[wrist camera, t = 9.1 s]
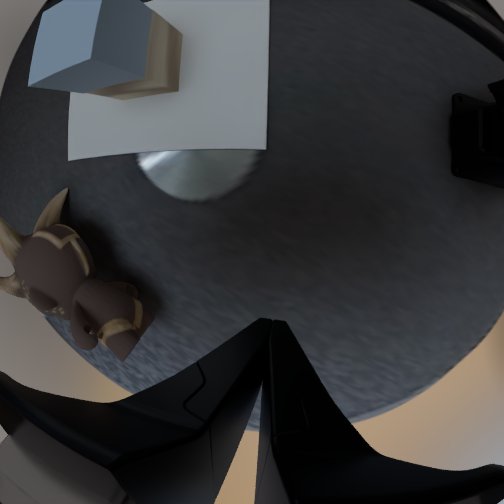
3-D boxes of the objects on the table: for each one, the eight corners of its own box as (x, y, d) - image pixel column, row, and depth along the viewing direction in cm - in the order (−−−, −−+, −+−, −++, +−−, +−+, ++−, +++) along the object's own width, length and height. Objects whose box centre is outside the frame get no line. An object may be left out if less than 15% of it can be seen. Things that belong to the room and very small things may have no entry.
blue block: (152, 10, 12) (107, -22, 7) (144, 77, 14) (90, 58, 9) (91, 30, 13) (43, 12, 8) (83, 93, 14) (27, 86, 10)
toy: (140, 336, 27) (41, 245, 25) (180, 283, 25) (67, 183, 23) (91, 407, 17) (-29, 281, 15) (129, 356, 15) (-18, 203, 13)
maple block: (182, 34, 17) (152, 9, 12) (178, 91, 18) (144, 76, 14) (128, 46, 17) (91, 29, 13) (123, 100, 19) (82, 92, 14)
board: (270, -15, 14) (269, -17, 14) (266, 149, 19) (265, 149, 19) (83, 27, 17) (80, 26, 17) (71, 160, 22) (68, 160, 21)
